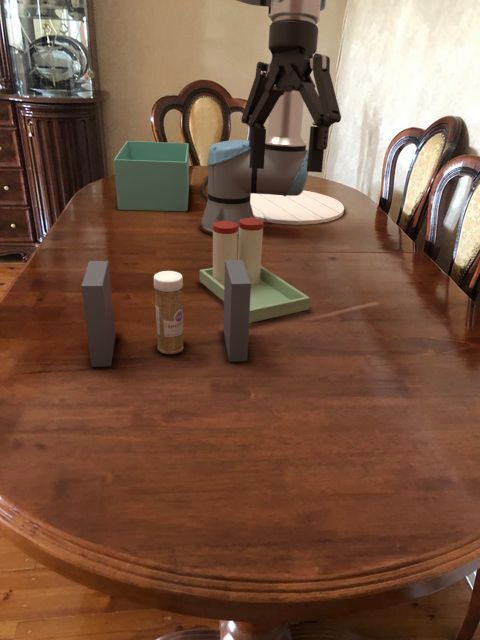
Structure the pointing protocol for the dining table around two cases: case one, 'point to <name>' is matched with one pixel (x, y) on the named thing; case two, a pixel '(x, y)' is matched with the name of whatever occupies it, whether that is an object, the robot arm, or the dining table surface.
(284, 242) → the dining table surface
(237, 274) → the grey upright slab
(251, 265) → the spice bottle
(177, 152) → the box
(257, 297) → the tray
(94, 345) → the grey book front
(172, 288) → the sprinkles bottle
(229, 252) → the spice bottle
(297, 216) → the lazy susan
